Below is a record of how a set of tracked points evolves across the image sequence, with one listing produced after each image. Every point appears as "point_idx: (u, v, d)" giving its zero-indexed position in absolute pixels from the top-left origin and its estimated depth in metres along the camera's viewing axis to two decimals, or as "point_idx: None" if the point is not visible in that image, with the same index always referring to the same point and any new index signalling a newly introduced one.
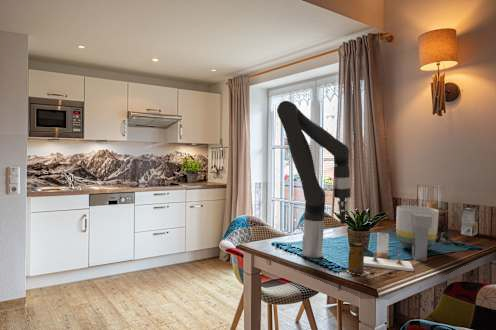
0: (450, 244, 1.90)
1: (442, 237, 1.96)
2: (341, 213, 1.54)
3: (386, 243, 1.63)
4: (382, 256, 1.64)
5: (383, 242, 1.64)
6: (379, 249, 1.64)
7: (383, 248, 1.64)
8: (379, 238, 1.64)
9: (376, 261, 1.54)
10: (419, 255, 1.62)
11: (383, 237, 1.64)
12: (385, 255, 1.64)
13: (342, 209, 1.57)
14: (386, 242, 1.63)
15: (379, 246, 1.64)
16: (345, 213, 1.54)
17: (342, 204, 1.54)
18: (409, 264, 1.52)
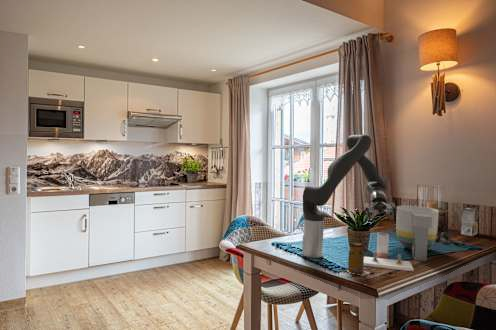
0: (450, 244, 1.90)
1: (442, 237, 1.96)
2: None
3: (386, 243, 1.63)
4: (382, 256, 1.64)
5: (383, 242, 1.64)
6: (379, 249, 1.64)
7: (383, 248, 1.64)
8: (379, 238, 1.64)
9: (376, 261, 1.54)
10: (419, 255, 1.62)
11: (383, 237, 1.64)
12: (385, 255, 1.64)
13: None
14: (386, 242, 1.63)
15: (379, 246, 1.64)
16: (394, 211, 1.71)
17: None
18: (409, 264, 1.52)
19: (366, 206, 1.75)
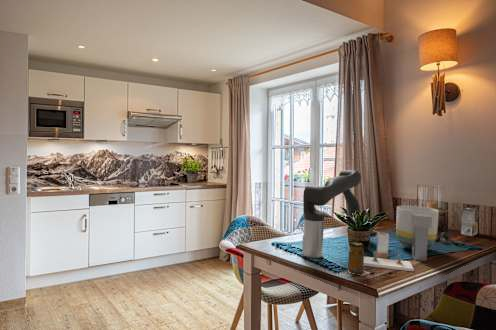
0: (450, 244, 1.90)
1: (442, 237, 1.96)
2: None
3: (386, 243, 1.63)
4: (382, 256, 1.64)
5: (383, 242, 1.64)
6: (379, 249, 1.64)
7: (383, 248, 1.64)
8: (379, 238, 1.64)
9: (376, 261, 1.54)
10: (419, 255, 1.62)
11: (383, 237, 1.64)
12: (385, 255, 1.64)
13: None
14: (386, 242, 1.63)
15: (379, 246, 1.64)
16: None
17: None
18: (409, 264, 1.52)
19: None
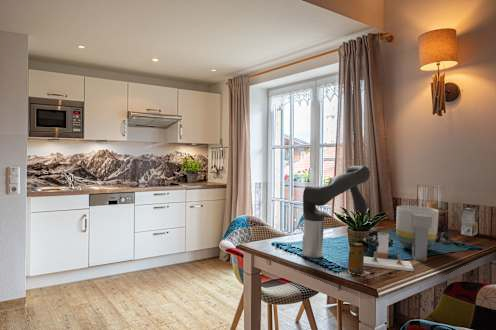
0: (450, 244, 1.90)
1: (442, 237, 1.96)
2: None
3: (386, 243, 1.63)
4: (382, 256, 1.64)
5: (383, 242, 1.64)
6: (379, 249, 1.64)
7: (383, 248, 1.64)
8: (379, 238, 1.64)
9: (376, 261, 1.54)
10: (419, 255, 1.62)
11: (383, 237, 1.64)
12: (385, 255, 1.64)
13: None
14: (386, 242, 1.63)
15: (379, 246, 1.64)
16: (391, 244, 1.68)
17: None
18: (409, 264, 1.52)
19: (369, 238, 1.69)
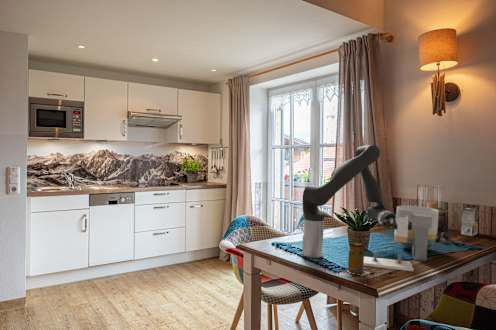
0: (450, 244, 1.90)
1: (442, 237, 1.96)
2: None
3: (406, 225, 1.50)
4: (401, 240, 1.50)
5: (402, 225, 1.50)
6: (398, 232, 1.51)
7: (402, 231, 1.50)
8: (398, 220, 1.50)
9: (376, 261, 1.54)
10: (419, 255, 1.62)
11: (402, 219, 1.50)
12: (404, 239, 1.50)
13: None
14: (405, 225, 1.50)
15: (398, 229, 1.51)
16: None
17: None
18: (409, 264, 1.52)
19: (386, 221, 1.56)
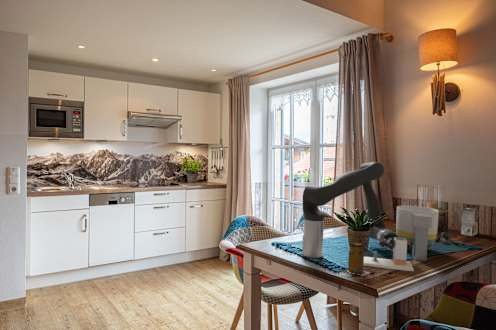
0: (450, 244, 1.90)
1: (442, 237, 1.96)
2: None
3: (405, 248, 1.50)
4: (400, 263, 1.51)
5: (401, 248, 1.50)
6: (397, 255, 1.51)
7: (401, 254, 1.51)
8: (397, 243, 1.51)
9: (376, 261, 1.54)
10: (419, 255, 1.62)
11: (401, 242, 1.50)
12: (403, 262, 1.50)
13: None
14: (404, 248, 1.50)
15: (397, 252, 1.51)
16: None
17: None
18: (409, 264, 1.52)
19: (382, 241, 1.57)
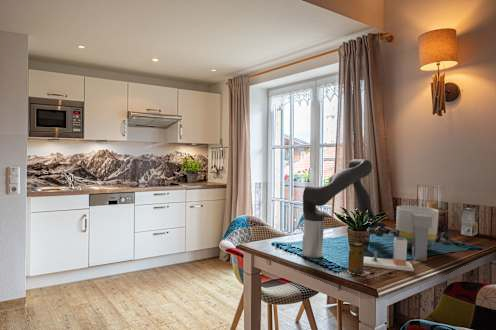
0: (450, 244, 1.90)
1: (442, 237, 1.96)
2: None
3: (405, 248, 1.50)
4: (400, 263, 1.51)
5: (401, 248, 1.50)
6: (397, 255, 1.51)
7: (401, 254, 1.51)
8: (397, 243, 1.51)
9: (376, 261, 1.54)
10: (419, 255, 1.62)
11: (401, 242, 1.50)
12: (403, 262, 1.50)
13: (391, 232, 1.70)
14: (404, 248, 1.50)
15: (397, 252, 1.51)
16: None
17: None
18: (409, 264, 1.52)
19: (370, 228, 1.70)
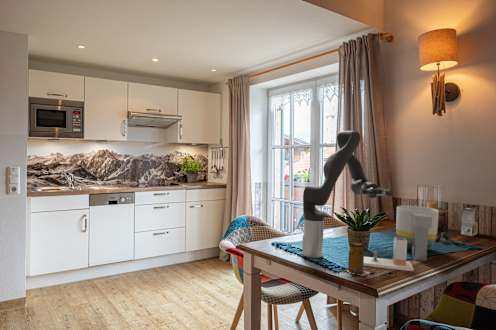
0: (450, 244, 1.90)
1: (442, 237, 1.96)
2: None
3: (405, 248, 1.50)
4: (400, 263, 1.51)
5: (401, 248, 1.50)
6: (397, 255, 1.51)
7: (401, 254, 1.51)
8: (397, 243, 1.51)
9: (376, 261, 1.54)
10: (419, 255, 1.62)
11: (401, 242, 1.50)
12: (403, 262, 1.50)
13: (384, 192, 1.74)
14: (404, 248, 1.50)
15: (397, 252, 1.51)
16: None
17: None
18: (409, 264, 1.52)
19: (364, 189, 1.73)
